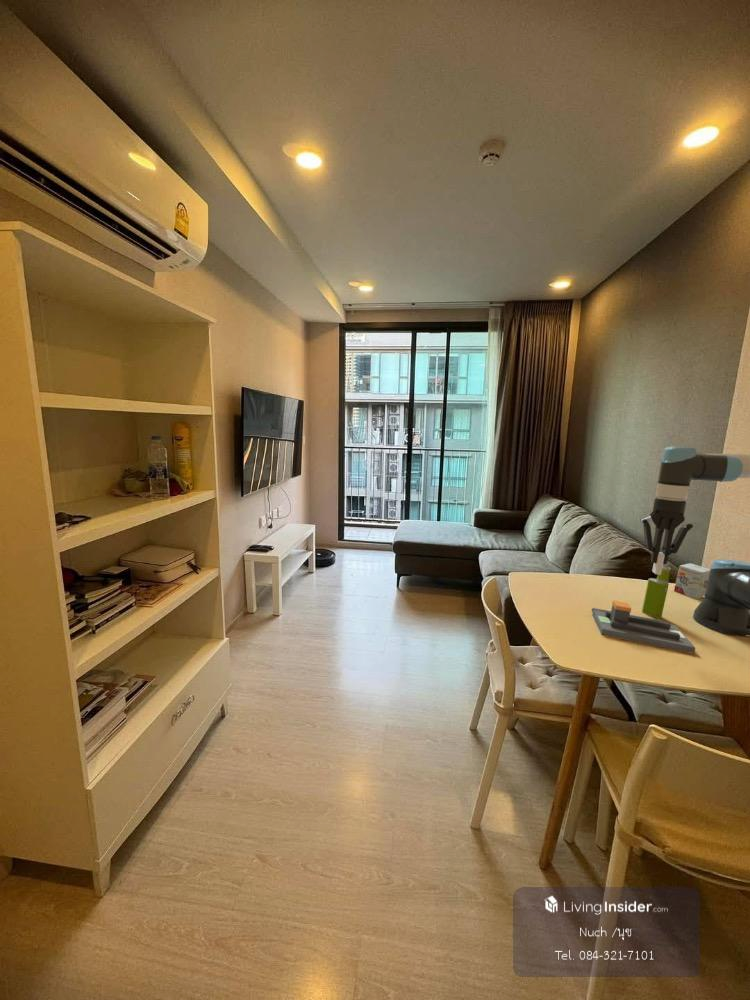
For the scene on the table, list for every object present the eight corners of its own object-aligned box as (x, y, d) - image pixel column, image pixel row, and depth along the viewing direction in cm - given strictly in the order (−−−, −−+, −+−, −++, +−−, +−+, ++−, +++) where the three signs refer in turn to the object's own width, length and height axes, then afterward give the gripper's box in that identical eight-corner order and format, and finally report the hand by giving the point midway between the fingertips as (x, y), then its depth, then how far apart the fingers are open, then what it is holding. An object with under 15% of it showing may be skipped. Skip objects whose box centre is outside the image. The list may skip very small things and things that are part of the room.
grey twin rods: (665, 624, 127) (666, 620, 127) (669, 628, 124) (670, 624, 124) (590, 610, 134) (591, 606, 134) (592, 614, 132) (593, 610, 131)
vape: (658, 619, 131) (669, 564, 127) (639, 611, 136) (650, 559, 132) (663, 617, 132) (675, 563, 129) (645, 609, 138) (656, 558, 134)
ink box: (672, 591, 158) (678, 564, 156) (684, 588, 161) (690, 562, 159) (697, 599, 150) (703, 571, 148) (708, 597, 154) (714, 569, 152)
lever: (624, 620, 123) (627, 602, 122) (627, 626, 119) (631, 608, 118) (609, 617, 124) (612, 600, 123) (612, 623, 121) (616, 605, 119)
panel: (674, 630, 123) (676, 620, 122) (693, 653, 110) (696, 642, 109) (592, 615, 131) (593, 605, 130) (601, 634, 118) (603, 624, 117)
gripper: (691, 498, 113) (676, 572, 118) (641, 494, 118) (628, 565, 122) (703, 502, 106) (687, 581, 111) (649, 498, 111) (635, 573, 115)
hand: (656, 573), depth 116 cm, fingers closed
